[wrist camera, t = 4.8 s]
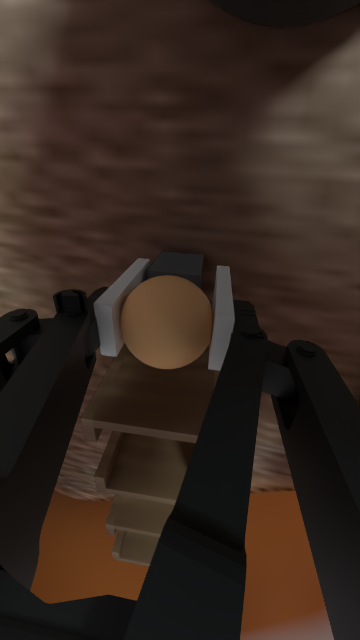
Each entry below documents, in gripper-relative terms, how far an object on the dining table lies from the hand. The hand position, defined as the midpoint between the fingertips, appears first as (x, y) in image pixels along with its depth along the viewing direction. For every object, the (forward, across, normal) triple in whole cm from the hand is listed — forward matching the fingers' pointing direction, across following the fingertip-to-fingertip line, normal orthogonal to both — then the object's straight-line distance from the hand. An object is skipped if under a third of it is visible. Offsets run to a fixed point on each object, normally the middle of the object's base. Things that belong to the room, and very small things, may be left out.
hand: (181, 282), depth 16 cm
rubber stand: (+2, 0, 0) cm, 2 cm away
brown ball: (-3, 0, 0) cm, 3 cm away
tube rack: (+2, 0, -14) cm, 14 cm away
